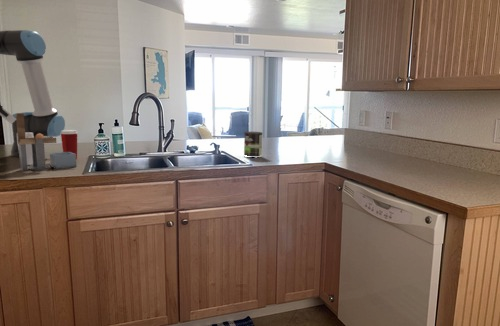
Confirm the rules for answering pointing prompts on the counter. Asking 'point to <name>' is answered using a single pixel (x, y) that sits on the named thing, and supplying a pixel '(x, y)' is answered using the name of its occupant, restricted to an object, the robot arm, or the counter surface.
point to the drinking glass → (28, 148)
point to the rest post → (23, 157)
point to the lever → (21, 132)
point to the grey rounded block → (63, 160)
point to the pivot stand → (38, 156)
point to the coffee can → (253, 143)
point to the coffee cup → (69, 141)
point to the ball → (39, 136)
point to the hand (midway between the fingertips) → (13, 121)
